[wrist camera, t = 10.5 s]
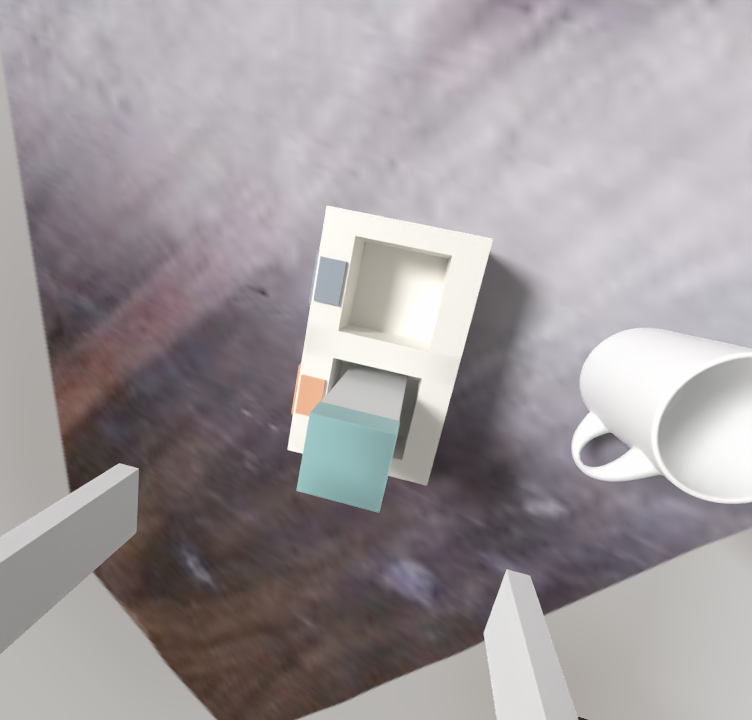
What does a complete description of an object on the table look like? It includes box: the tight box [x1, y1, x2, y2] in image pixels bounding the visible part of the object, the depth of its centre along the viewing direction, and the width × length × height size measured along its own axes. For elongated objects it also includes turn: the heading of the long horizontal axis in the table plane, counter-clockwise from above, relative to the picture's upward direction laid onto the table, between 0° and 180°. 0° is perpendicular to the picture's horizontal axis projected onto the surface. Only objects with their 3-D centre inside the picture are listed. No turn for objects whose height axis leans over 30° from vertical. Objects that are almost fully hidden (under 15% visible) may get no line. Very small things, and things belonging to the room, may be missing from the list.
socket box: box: [288, 206, 493, 485], centre depth 29 cm, size 18×11×6 cm, turn 168°
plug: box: [297, 363, 408, 512], centre depth 25 cm, size 5×5×12 cm
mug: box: [571, 328, 752, 504], centre depth 25 cm, size 9×12×11 cm
